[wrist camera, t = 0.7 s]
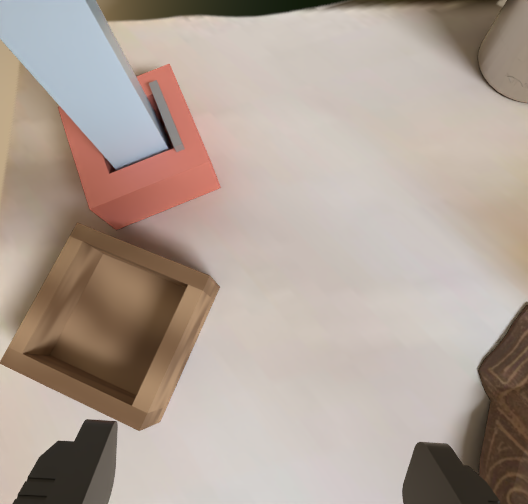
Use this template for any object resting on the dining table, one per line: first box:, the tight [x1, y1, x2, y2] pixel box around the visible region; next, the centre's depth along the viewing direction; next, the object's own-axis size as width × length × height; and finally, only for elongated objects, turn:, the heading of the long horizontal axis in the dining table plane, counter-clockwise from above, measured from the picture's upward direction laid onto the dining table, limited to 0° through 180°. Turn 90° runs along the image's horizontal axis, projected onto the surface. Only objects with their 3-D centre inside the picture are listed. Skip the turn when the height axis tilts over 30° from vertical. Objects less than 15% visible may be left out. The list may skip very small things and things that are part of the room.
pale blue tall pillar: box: [0, 0, 172, 170], centre depth 27 cm, size 4×4×20 cm
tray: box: [0, 222, 220, 431], centre depth 31 cm, size 11×11×4 cm
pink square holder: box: [58, 64, 221, 230], centre depth 35 cm, size 10×10×6 cm
